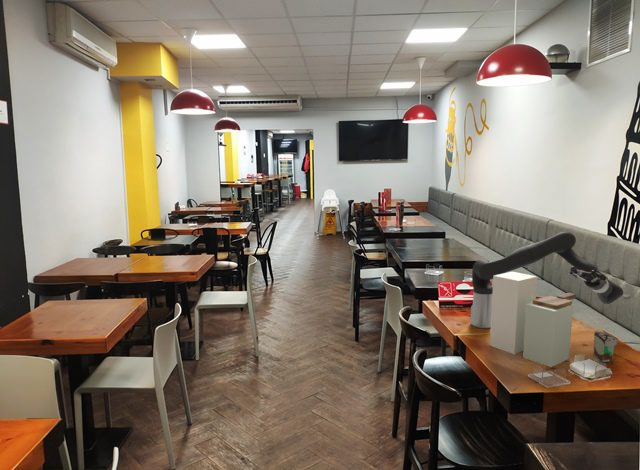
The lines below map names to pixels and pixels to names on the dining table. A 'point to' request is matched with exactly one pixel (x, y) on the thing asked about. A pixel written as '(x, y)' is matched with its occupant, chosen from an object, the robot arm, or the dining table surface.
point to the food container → (604, 346)
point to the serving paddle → (555, 300)
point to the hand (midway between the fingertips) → (581, 270)
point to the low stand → (547, 334)
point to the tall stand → (510, 309)
